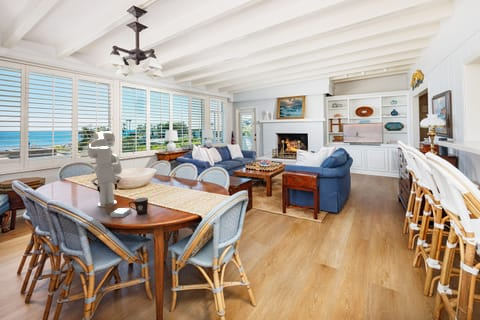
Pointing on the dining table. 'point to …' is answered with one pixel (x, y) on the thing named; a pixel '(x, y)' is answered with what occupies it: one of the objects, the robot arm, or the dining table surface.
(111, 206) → the walnut block
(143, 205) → the coffee mug
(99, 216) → the dining table surface
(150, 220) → the dining table surface
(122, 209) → the trivet
